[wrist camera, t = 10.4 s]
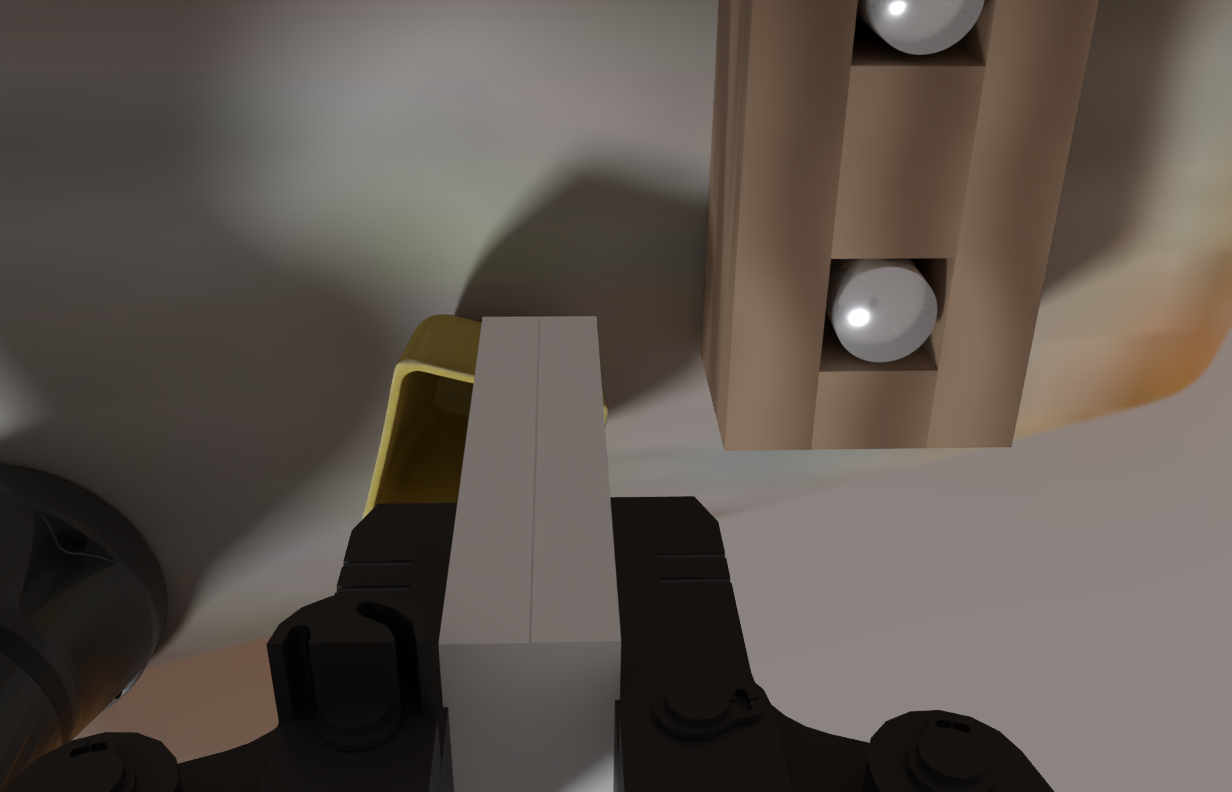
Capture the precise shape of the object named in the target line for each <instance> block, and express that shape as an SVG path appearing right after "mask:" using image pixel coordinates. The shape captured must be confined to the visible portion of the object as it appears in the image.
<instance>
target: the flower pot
mask: <svg viewBox="0 0 1232 792" xmlns="http://www.w3.org/2000/svg"><path fill="white" fill-rule="evenodd" d="M481 325H482V322H479V321H474V320H471V319H467V318H462V317H458V316H453V315H434V316H431V317H429V318H427V319H425V320H424V321H422V322H421V323H420V325H419V326H418V327H417V328H416V330H415V332H414V333H413V335H412V337H411V339H410V341H409V343H408V344H407V346H406V348H405V350H404V352H403V354H402V356H401V358H400V359H399V361H398V363H397V365H396V367H395V369H394V375H393V379H392V384H391V390H390V396H389V401H388V407H387V412H386V417H385V422H384V428H383V433H382V437H381V443H380V447H379V451H378V456H377V460H376V464H375V468H374V473H373V477H372V481H371V485H370V489H369V494H368V498H367V502H366V505H365V509H364V513H363V517H362V519H363V518H364V517H365V516H366V515H367V514H368V513H369V512H370V511H371V510H372V509H373V508H374V507H375V506H376V505H377V504H389V503H458V496H459V488H460V481H461V473H462V466H463V459H464V451H465V444H466V436H467V429H468V421H469V414H470V407H471V399H472V392H473V384H474V377H475V369H476V362H477V355H478V347H479V340H480V332H481ZM602 396H603V409H604V422H605V426H606V422H607V418H608V413H609V411H608V407H607V404H606V401H605V398H604V395H603V392H602Z"/></svg>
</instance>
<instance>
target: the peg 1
mask: <svg viewBox="0 0 1232 792" xmlns="http://www.w3.org/2000/svg"><path fill="white" fill-rule="evenodd" d="M984 1H985V0H858V3H857V12H856V17H857V18H858V19H859V20H861V21H862V22H863V23H864V24H865V25H867V26H868V27H869V28H870V29H871V30H873V31H874V32H875V33H876V34H878V35H879V36H880V37H881V38H882V39H884V40H885V41H886V42H887V43H889V44H890V45H891V46H893V47H894V48H896V49H898V50H900V51H903V52H905V53H910V54H918V55H923V54H931V53H936V52H939V51H942V50H944V49H946V48H948V47H950V46H952V45H953V44H955V43H957V42H958V41H959V40H960V39H962V38H963V37H964V36H965V35H966V34H967V33H968V32H969V30H970V29H971V28H972V27H973V25H974V24H975V22H976V21H977V19H978V17H979V15H980V13H981V11H982V8H983V5H984Z"/></svg>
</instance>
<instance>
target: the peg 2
mask: <svg viewBox="0 0 1232 792" xmlns="http://www.w3.org/2000/svg"><path fill="white" fill-rule="evenodd" d="M825 312H826V314H827V316H828V318H829V320H830V322H831V324H832V326H833V328H834V330H835V332H836V334H837V336H838V338H839V340H840V342H841V343H842V345H843V346H844V347H845V348H846V349H847V350H848V351H849V352H850V353H851V354H853V355H854V356H856V357H858V358H860V359H863V360H866V361H871V362H889V361H894V360H897V359H900V358H903V357H905V356H907V355H909V354H910V353H912V352H913V351H915V350H916V349H917V348H919V347H920V346H921V345H922V344H923V343H924V342H925V340H926V339H927V338H928V336H929V335H930V333H931V331H932V329H933V327H934V325H935V322H936V317H937V302H936V298H935V295H934V292H933V291H932V289H931V287H930V286H929V284H928V283H927V281H926V280H925V279H924V277H923V276H922V275H921V273H920V272H919V270H918V269H917V268H916V266H915V265H914V263H913V262H912V261H911V259H910V258H886V259H831V263H830V273H829V282H828V292H827V302H826V311H825Z"/></svg>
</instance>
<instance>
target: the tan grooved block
mask: <svg viewBox="0 0 1232 792" xmlns="http://www.w3.org/2000/svg"><path fill="white" fill-rule="evenodd" d="M857 3H858V0H719V8H718V28H717V48H716V68H715V88H714V108H713V128H712V148H711V168H710V188H709V208H708V228H707V248H706V268H705V287H704V307H703V327H702V347H701V356H702V360H703V364H704V369H705V373H706V377H707V381H708V385H709V389H710V393H711V397H712V401H713V406H714V410H715V414H716V418H717V422H718V426H719V430H720V434H721V438H722V443H723V447H724V451H733V450H813V449H893V448H973V447H1012V442H1013V437H1014V431H1015V426H1016V421H1017V416H1018V411H1019V406H1020V401H1021V396H1022V391H1023V386H1024V381H1025V376H1026V370H1027V365H1028V360H1029V355H1030V350H1031V345H1032V340H1033V335H1034V330H1035V325H1036V320H1037V315H1038V309H1039V304H1040V299H1041V294H1042V289H1043V284H1044V279H1045V274H1046V269H1047V264H1048V259H1049V254H1050V249H1051V243H1052V238H1053V233H1054V228H1055V223H1056V218H1057V213H1058V208H1059V203H1060V198H1061V193H1062V188H1063V182H1064V177H1065V172H1066V167H1067V162H1068V157H1069V152H1070V147H1071V142H1072V137H1073V132H1074V127H1075V122H1076V116H1077V111H1078V106H1079V101H1080V96H1081V91H1082V86H1083V81H1084V76H1085V71H1086V66H1087V61H1088V55H1089V50H1090V45H1091V40H1092V35H1093V30H1094V25H1095V20H1096V15H1097V10H1098V5H1099V0H985V1H984V5H983V8H982V11H981V13H980V15H979V17H978V19H977V21H976V22H975V24H974V25H973V27H972V28H971V29H970V30H969V32H968V33H967V34H966V35H965V36H964V37H963V38H962V39H960V40H959V41H958V42H957V43H955V44H953V45H952V46H950V47H948V48H946V49H944V50H942V51H939V52H936V53H931V54H923V55H918V54H910V53H905V52H903V51H900V50H898V49H896V48H894V47H893V46H891V45H890V44H889V43H887V42H886V41H885V40H884V39H882V38H881V37H880V36H879V35H878V34H876V33H875V32H874V31H873V30H871V29H870V28H869V27H868V26H867V25H865V24H864V23H863V22H862V21H861V20H859V19H856V12H857ZM886 258H910V259H911V261H912V262H913V263H914V265H915V266H916V268H917V269H918V270H919V272H920V273H921V275H922V276H923V277H924V279H925V280H926V281H927V283H928V284H929V286H930V287H931V289H932V291H933V292H934V295H935V298H936V302H937V317H936V322H935V325H934V327H933V329H932V331H931V333H930V335H929V336H928V338H927V339H926V340H925V342H924V343H923V344H922V345H921V346H920V347H919V348H917V349H916V350H915V351H913V352H912V353H910V354H909V355H907V356H905V357H903V358H900V359H897V360H894V361H889V362H871V361H866V360H863V359H860V358H858V357H856V356H854V355H853V354H851V353H850V352H849V351H848V350H847V349H846V348H845V347H844V346H843V345H842V343H841V342H840V340H839V338H838V336H837V334H836V332H835V330H834V328H833V326H832V324H831V322H830V320H829V318H828V316H827V314H826V312H825V311H826V302H827V292H828V282H829V273H830V263H831V259H886Z"/></svg>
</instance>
